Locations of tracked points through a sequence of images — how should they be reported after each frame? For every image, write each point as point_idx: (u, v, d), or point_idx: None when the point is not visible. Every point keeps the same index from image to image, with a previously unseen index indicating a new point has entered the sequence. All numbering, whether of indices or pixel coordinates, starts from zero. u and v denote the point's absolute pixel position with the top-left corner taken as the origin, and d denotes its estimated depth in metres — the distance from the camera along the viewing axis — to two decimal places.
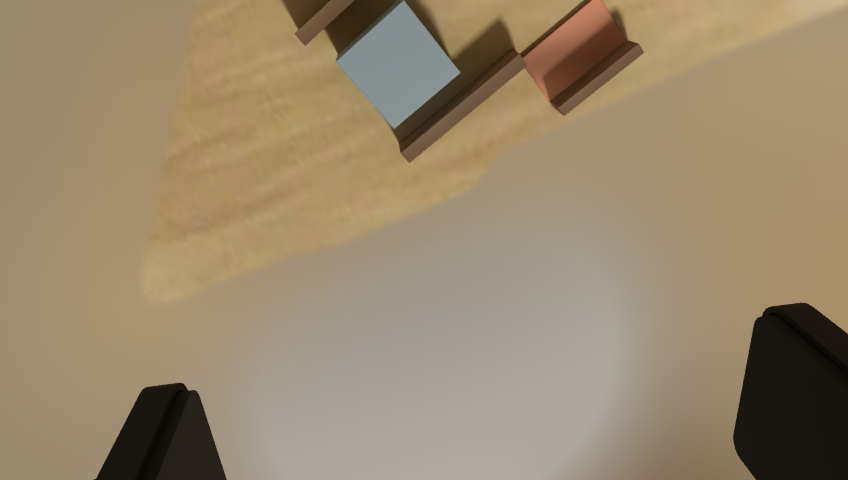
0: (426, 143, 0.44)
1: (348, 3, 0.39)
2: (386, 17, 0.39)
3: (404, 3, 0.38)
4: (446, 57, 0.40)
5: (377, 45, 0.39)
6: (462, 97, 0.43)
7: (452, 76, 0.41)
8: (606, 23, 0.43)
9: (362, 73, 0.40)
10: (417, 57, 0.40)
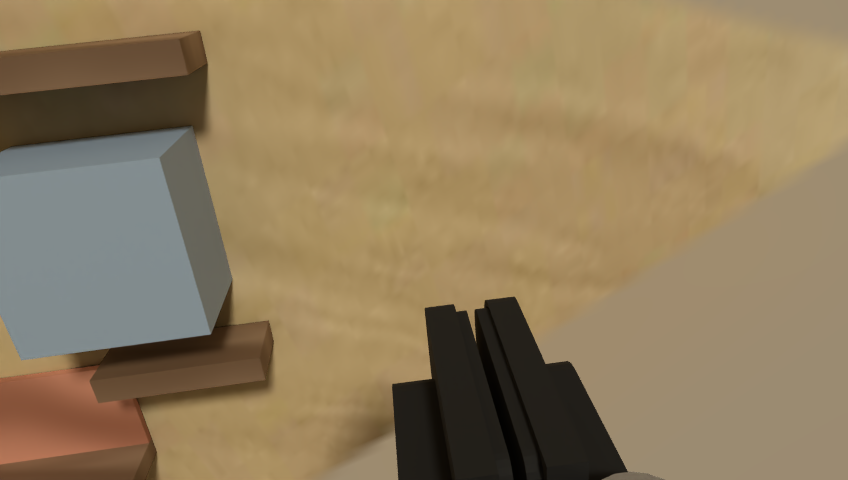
0: (112, 57, 0.17)
1: (146, 375, 0.21)
2: (70, 351, 0.19)
3: (22, 355, 0.19)
4: None
5: (113, 320, 0.19)
6: None
7: None
8: None
9: (169, 292, 0.19)
10: (34, 260, 0.18)
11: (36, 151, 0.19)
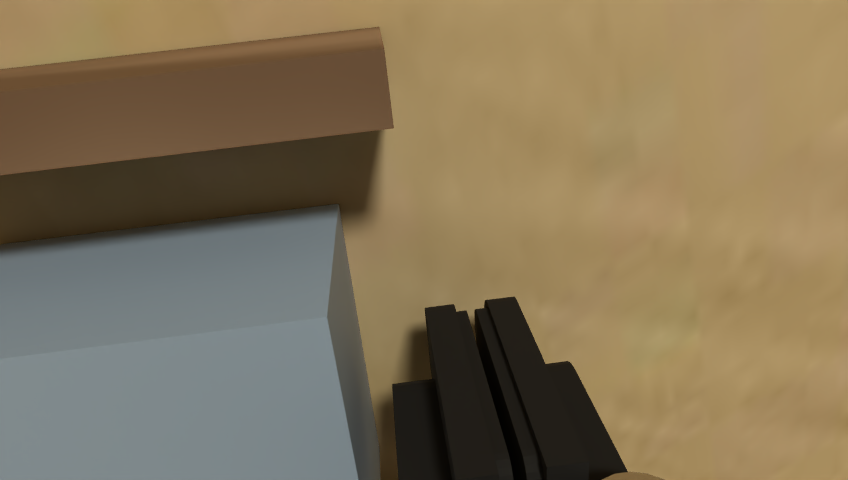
0: (232, 92, 0.07)
1: None
2: None
3: None
4: None
5: None
6: None
7: None
8: None
9: None
10: None
11: (49, 266, 0.09)
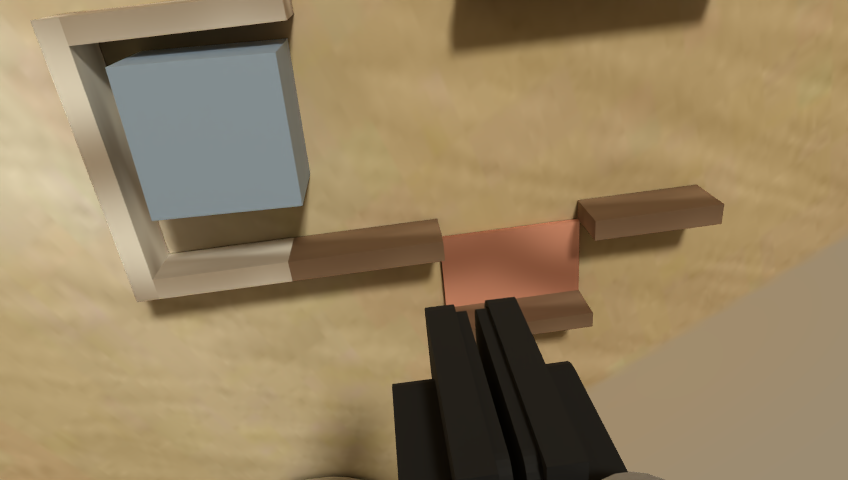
0: None
1: (637, 217, 0.27)
2: (191, 215, 0.24)
3: (153, 216, 0.24)
4: (120, 106, 0.22)
5: (226, 189, 0.23)
6: None
7: (122, 70, 0.21)
8: None
9: (273, 167, 0.23)
10: (170, 135, 0.22)
11: (167, 52, 0.23)
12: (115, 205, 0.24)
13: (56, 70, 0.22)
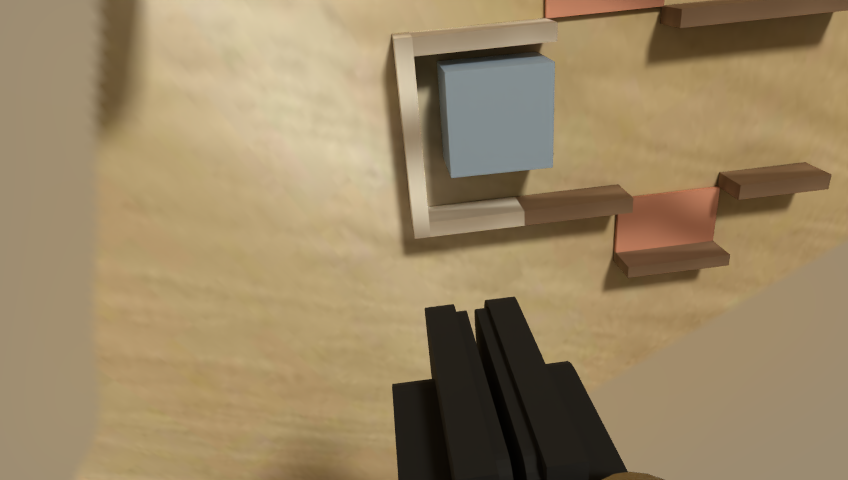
0: None
1: (770, 183, 0.38)
2: (477, 174, 0.34)
3: (452, 175, 0.34)
4: (448, 98, 0.32)
5: (504, 155, 0.34)
6: None
7: (455, 74, 0.32)
8: None
9: (538, 140, 0.34)
10: (476, 118, 0.33)
11: (463, 62, 0.34)
12: (417, 167, 0.35)
13: (402, 72, 0.33)
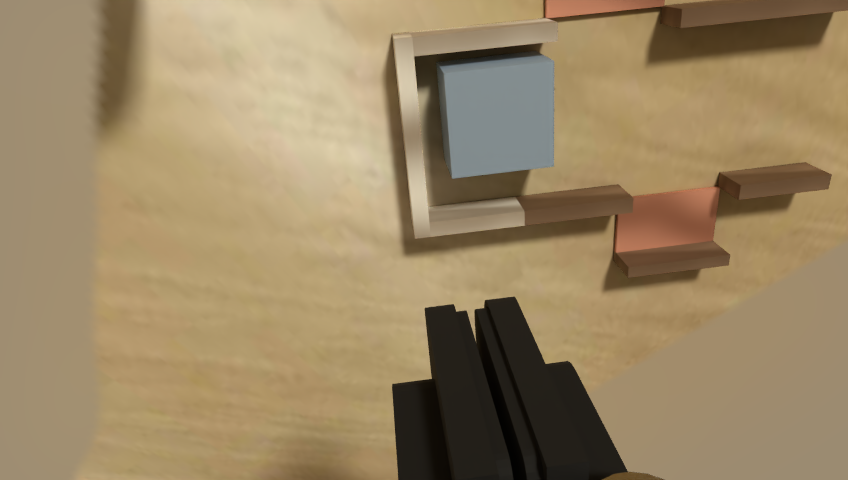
0: None
1: (770, 183, 0.38)
2: (478, 174, 0.34)
3: (453, 175, 0.34)
4: (448, 99, 0.32)
5: (505, 155, 0.34)
6: None
7: (454, 75, 0.32)
8: None
9: (538, 139, 0.34)
10: (476, 118, 0.33)
11: (462, 62, 0.34)
12: (417, 167, 0.35)
13: (402, 72, 0.33)
